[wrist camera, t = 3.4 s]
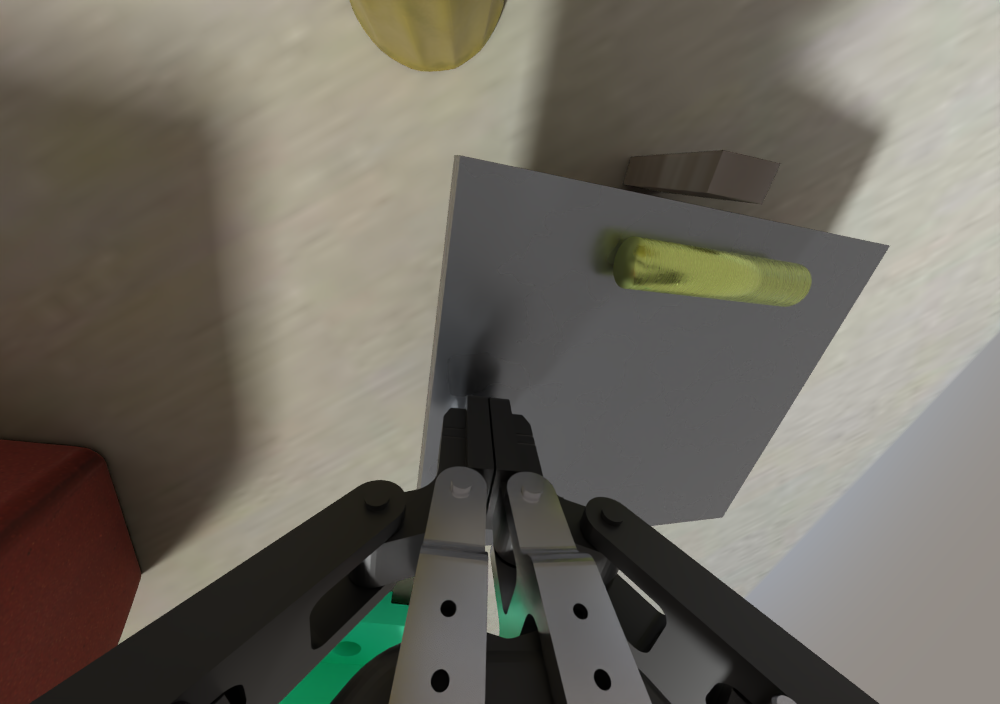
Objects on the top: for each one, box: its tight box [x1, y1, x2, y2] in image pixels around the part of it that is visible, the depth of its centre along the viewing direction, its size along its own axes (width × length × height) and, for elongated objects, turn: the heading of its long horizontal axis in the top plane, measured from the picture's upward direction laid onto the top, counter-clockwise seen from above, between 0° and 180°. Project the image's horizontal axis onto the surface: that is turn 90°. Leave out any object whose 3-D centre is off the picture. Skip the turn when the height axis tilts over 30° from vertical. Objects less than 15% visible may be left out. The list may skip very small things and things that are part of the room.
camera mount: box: [279, 591, 409, 704], centre depth 27 cm, size 12×8×10 cm, turn 71°
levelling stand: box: [623, 150, 781, 204], centre depth 19 cm, size 14×19×7 cm
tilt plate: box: [417, 155, 889, 546], centre depth 16 cm, size 18×16×3 cm
